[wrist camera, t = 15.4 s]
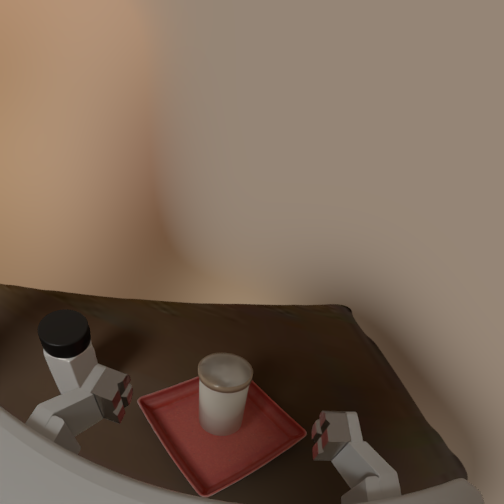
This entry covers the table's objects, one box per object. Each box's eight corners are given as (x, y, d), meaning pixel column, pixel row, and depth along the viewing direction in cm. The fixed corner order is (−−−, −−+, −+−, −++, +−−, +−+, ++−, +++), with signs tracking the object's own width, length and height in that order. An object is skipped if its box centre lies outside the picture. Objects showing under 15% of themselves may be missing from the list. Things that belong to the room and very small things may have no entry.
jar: (108, 396, 35) (93, 342, 31) (62, 405, 31) (37, 351, 26) (96, 358, 42) (84, 304, 37) (55, 365, 37) (37, 310, 32)
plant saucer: (202, 504, 23) (203, 499, 22) (137, 409, 35) (135, 397, 34) (303, 442, 35) (309, 433, 33) (231, 373, 47) (234, 361, 46)
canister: (190, 429, 31) (190, 379, 28) (205, 398, 37) (207, 347, 34) (237, 441, 30) (247, 393, 27) (247, 409, 36) (257, 359, 33)
